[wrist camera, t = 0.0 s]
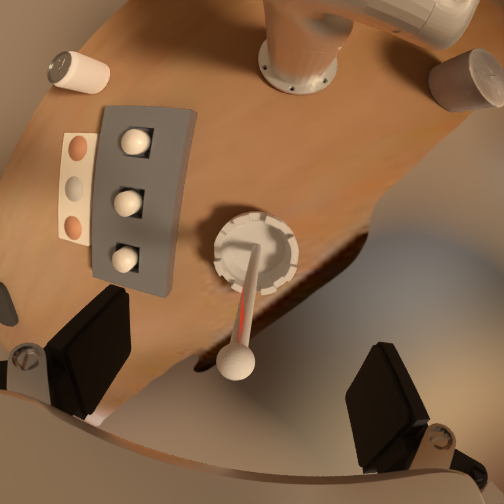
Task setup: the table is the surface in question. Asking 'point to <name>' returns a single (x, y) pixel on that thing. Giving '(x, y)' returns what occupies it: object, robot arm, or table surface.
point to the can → (78, 73)
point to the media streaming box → (7, 308)
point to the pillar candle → (468, 82)
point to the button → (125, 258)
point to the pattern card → (77, 186)
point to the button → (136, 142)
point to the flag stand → (251, 276)
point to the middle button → (128, 202)
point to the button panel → (149, 185)
